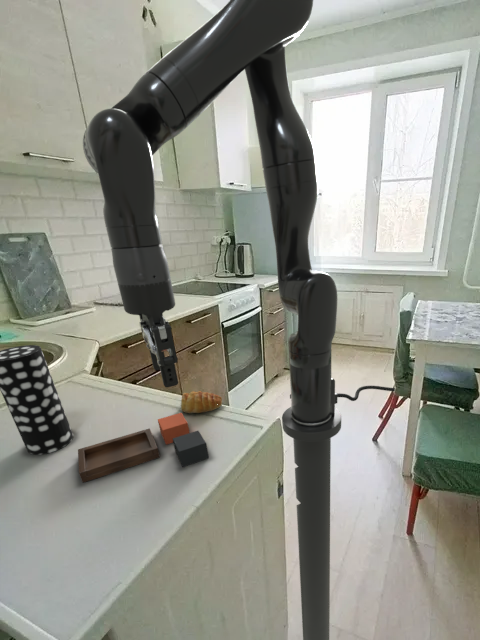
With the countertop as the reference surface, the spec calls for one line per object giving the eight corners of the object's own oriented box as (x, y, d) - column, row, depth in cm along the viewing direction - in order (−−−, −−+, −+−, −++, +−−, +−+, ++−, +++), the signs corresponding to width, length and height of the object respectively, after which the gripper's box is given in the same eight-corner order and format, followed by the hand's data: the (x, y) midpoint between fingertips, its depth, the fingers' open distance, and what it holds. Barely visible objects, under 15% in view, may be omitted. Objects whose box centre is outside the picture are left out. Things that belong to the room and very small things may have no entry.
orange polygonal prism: (184, 426, 77) (181, 412, 75) (190, 437, 73) (187, 422, 71) (160, 433, 75) (157, 419, 73) (166, 444, 71) (162, 430, 69)
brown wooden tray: (151, 437, 74) (149, 428, 73) (160, 457, 67) (157, 448, 66) (81, 458, 68) (77, 449, 67) (82, 483, 61) (78, 473, 61)
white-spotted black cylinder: (70, 427, 79) (38, 342, 70) (76, 443, 73) (42, 352, 64) (26, 441, 74) (-14, 352, 66) (28, 460, 68) (-15, 364, 60)
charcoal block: (201, 445, 70) (198, 430, 69) (208, 458, 66) (206, 442, 65) (175, 453, 68) (172, 438, 67) (182, 467, 64) (178, 451, 63)
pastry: (223, 399, 88) (221, 385, 86) (221, 412, 82) (219, 398, 80) (185, 402, 87) (182, 388, 85) (180, 416, 81) (177, 401, 79)
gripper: (181, 281, 49) (199, 386, 56) (160, 270, 60) (177, 359, 67) (123, 288, 46) (150, 399, 53) (112, 276, 57) (136, 368, 64)
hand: (165, 376), depth 60 cm, fingers open, 8 cm apart
